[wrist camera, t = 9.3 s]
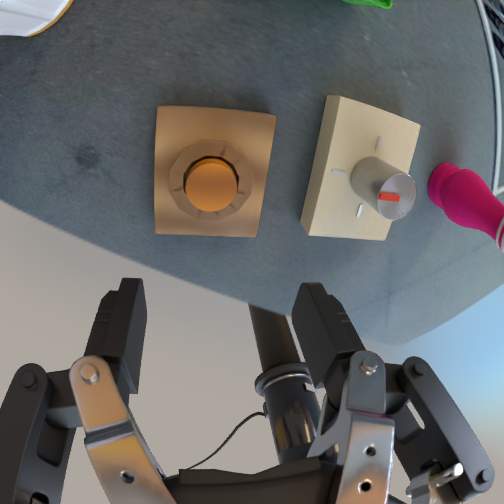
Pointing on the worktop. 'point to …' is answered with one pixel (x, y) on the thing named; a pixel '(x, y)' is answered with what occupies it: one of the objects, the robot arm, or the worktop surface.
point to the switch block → (204, 147)
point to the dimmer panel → (343, 162)
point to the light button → (211, 185)
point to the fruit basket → (371, 3)
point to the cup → (30, 15)
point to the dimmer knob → (383, 187)
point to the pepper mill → (467, 200)
